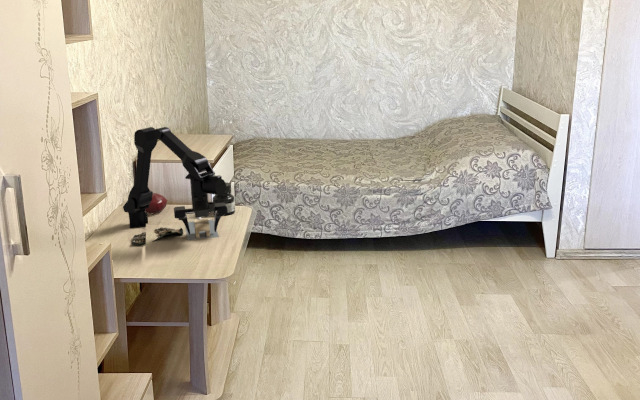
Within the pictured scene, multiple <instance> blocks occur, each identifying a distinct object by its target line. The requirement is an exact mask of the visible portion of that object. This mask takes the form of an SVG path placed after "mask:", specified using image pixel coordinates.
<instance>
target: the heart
mask: <svg viewBox="0 0 640 400" xmlns="http://www.w3.org/2000/svg"><path fill="white" fill-rule="evenodd" d="M167 204H168V199H167V198H166V197H165V196H164V195H163V194H160V193H157V192H153V194H152V201H151V203H150V205H149V208H146V209H145V211H146V212H147V214H151V215H157V214H159V213H161V212H162V211H163V210H164V209H165V208H166V207H167Z"/></svg>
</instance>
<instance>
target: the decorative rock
mask: <svg viewBox="0 0 640 400" xmlns="http://www.w3.org/2000/svg"><path fill="white" fill-rule="evenodd" d="M154 233H155V234H157V235H159V236H158V237H157V238H156V239H154V240H153V242H156V241H157V240H159V239H162V238H164V236H171V235H177V234H178V235H184V229H183V228H182V227H180V228H179V229H176V228H169V227H162V226H161V227H158V228H155V229H154ZM132 239H133V241H131V244H132V245H135V246H136V245H139V246H142V245H145V244H147V232H146V231H144V232H141V233H140V234H135V235H134V236H133V237H132Z"/></svg>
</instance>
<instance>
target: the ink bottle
mask: <svg viewBox="0 0 640 400" xmlns="http://www.w3.org/2000/svg"><path fill="white" fill-rule="evenodd" d="M225 184H226V190H225V192H224V194H222V195H214V196H213V197H212V202H213V203H214V206H215V203H225V204H226V205H227V210H228V213H227V214H224V216H230V215H233V214H235V212H236V205H235V204H236V203H235V196H234V195H233V194H232V183H230V182H226V181H225ZM212 213H213V214H214V215H215V212H212Z"/></svg>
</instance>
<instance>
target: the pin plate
mask: <svg viewBox="0 0 640 400" xmlns="http://www.w3.org/2000/svg"><path fill="white" fill-rule="evenodd" d="M200 219H202V217H200V218H197V217H196V220H200ZM208 221H209V226H210V237H207V236H206V232H205V231H200V232H199V237H200V238H196V235H195V226H194V220H193V221H188V224H189V229H190V235H189V233H188V231H187V229H186V226H185V225H184V226H185V232H186V238H187V241H193V240H194V241H195V240H203V239H213V238H219V236H220V235H219V234H218V230H217V229H218V228H217V229H216V232H215V231H214V219H208Z"/></svg>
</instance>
